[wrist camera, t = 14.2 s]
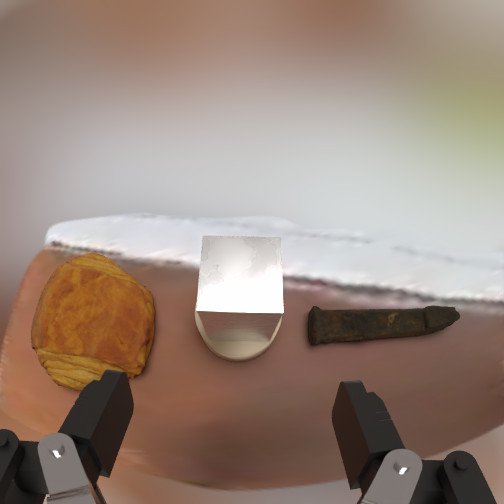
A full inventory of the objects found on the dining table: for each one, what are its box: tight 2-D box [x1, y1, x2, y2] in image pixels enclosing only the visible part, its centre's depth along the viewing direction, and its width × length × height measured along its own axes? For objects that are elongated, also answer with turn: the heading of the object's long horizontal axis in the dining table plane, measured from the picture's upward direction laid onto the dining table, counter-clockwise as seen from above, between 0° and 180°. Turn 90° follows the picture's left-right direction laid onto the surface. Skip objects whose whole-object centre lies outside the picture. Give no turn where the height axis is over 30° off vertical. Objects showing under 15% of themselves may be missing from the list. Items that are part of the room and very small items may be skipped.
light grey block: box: [197, 236, 283, 342], centre depth 25 cm, size 5×5×9 cm
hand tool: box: [308, 306, 460, 345], centre depth 31 cm, size 19×4×5 cm, turn 87°
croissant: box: [31, 253, 155, 391], centre depth 29 cm, size 14×16×8 cm
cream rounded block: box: [195, 302, 282, 362], centre depth 30 cm, size 8×8×8 cm
